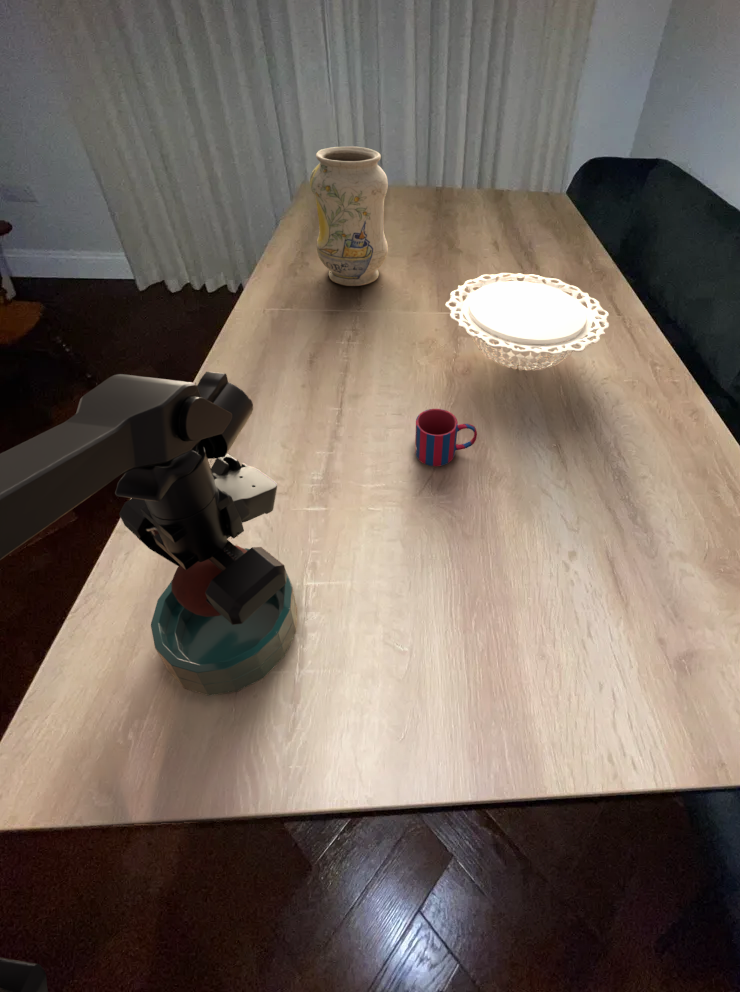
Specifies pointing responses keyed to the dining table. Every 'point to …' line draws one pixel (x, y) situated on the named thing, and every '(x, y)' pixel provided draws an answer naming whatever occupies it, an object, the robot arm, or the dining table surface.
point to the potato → (196, 586)
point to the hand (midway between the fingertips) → (218, 590)
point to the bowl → (223, 642)
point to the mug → (439, 437)
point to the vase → (350, 213)
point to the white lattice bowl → (527, 319)
